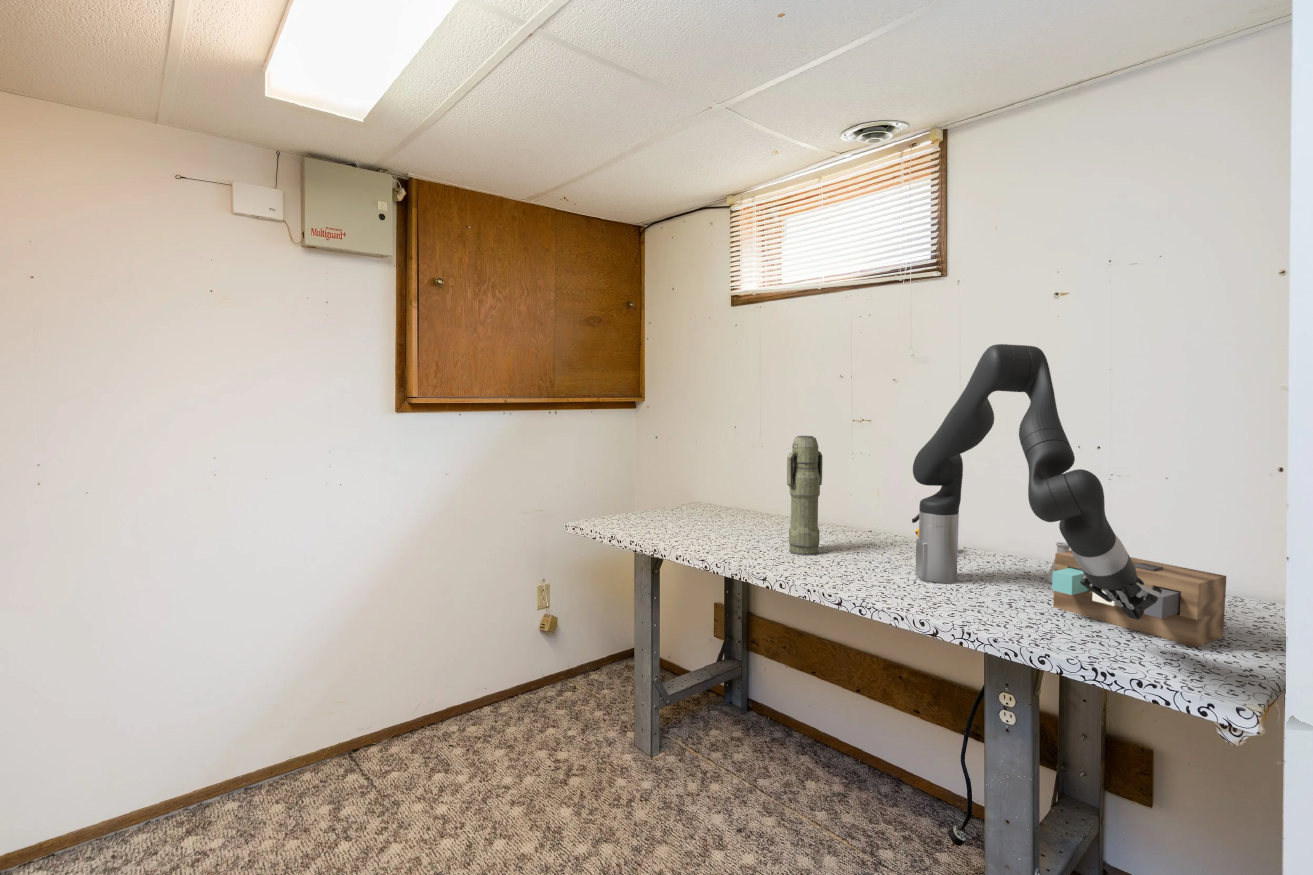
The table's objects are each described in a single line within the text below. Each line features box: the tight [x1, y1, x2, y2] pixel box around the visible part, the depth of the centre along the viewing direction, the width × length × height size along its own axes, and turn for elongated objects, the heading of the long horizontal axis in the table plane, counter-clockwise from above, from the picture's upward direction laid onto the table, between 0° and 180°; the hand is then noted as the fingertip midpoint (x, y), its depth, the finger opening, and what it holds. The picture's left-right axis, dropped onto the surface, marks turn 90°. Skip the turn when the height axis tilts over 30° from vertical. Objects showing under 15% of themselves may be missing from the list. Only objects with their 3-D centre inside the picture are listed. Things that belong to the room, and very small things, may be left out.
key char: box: [1138, 586, 1181, 619], centre depth 122 cm, size 10×4×4 cm, turn 118°
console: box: [1052, 550, 1227, 648], centre depth 132 cm, size 11×26×12 cm, turn 28°
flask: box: [1044, 541, 1071, 584], centre depth 160 cm, size 7×7×10 cm
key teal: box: [1051, 567, 1090, 595], centre depth 136 cm, size 10×4×4 cm, turn 118°
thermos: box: [786, 435, 823, 556], centre depth 191 cm, size 9×12×35 cm
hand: (1135, 614), depth 118 cm, fingers closed
